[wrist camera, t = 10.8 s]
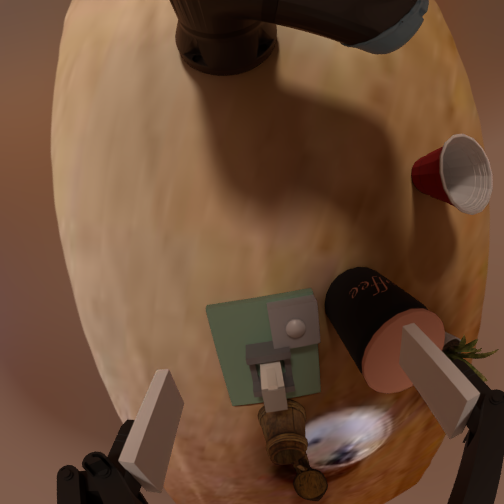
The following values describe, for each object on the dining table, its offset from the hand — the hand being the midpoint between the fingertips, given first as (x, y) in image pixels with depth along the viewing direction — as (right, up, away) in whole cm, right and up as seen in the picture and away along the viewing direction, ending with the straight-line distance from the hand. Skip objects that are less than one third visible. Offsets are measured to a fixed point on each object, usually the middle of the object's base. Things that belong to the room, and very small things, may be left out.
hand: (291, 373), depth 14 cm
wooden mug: (+5, -27, +35) cm, 44 cm away
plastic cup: (+26, +19, +25) cm, 41 cm away
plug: (+1, -11, +29) cm, 31 cm away
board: (+1, -10, +31) cm, 32 cm away
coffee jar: (+14, -1, +29) cm, 32 cm away
